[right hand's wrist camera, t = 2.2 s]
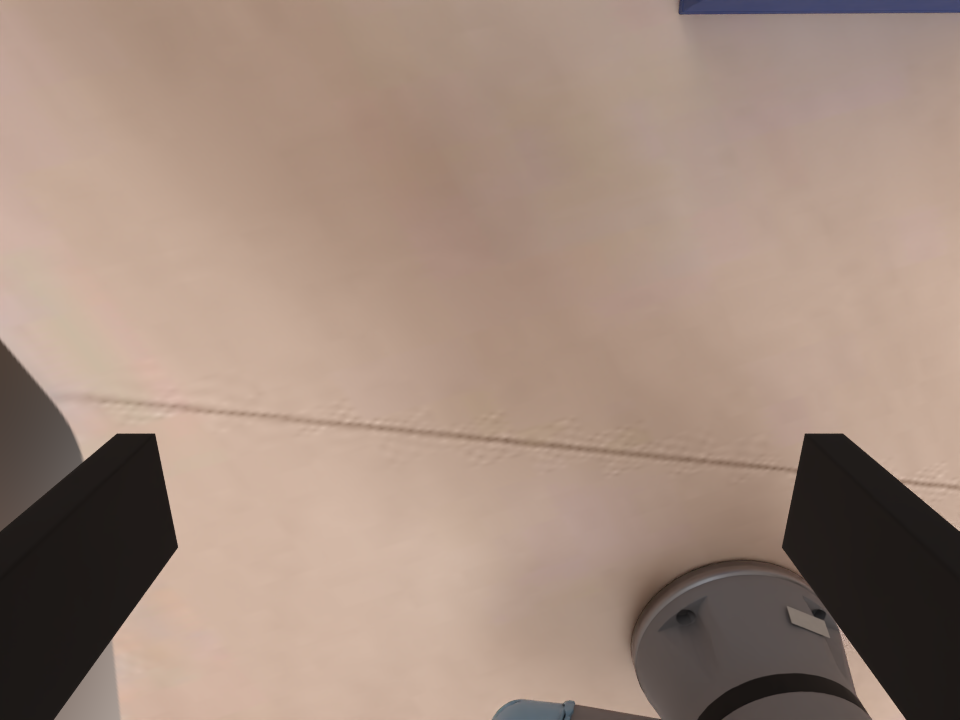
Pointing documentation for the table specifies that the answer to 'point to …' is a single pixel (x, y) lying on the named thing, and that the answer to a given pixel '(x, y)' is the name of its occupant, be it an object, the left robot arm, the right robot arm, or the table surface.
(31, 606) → the right robot arm
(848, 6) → the blue cabinet box
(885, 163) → the table surface
